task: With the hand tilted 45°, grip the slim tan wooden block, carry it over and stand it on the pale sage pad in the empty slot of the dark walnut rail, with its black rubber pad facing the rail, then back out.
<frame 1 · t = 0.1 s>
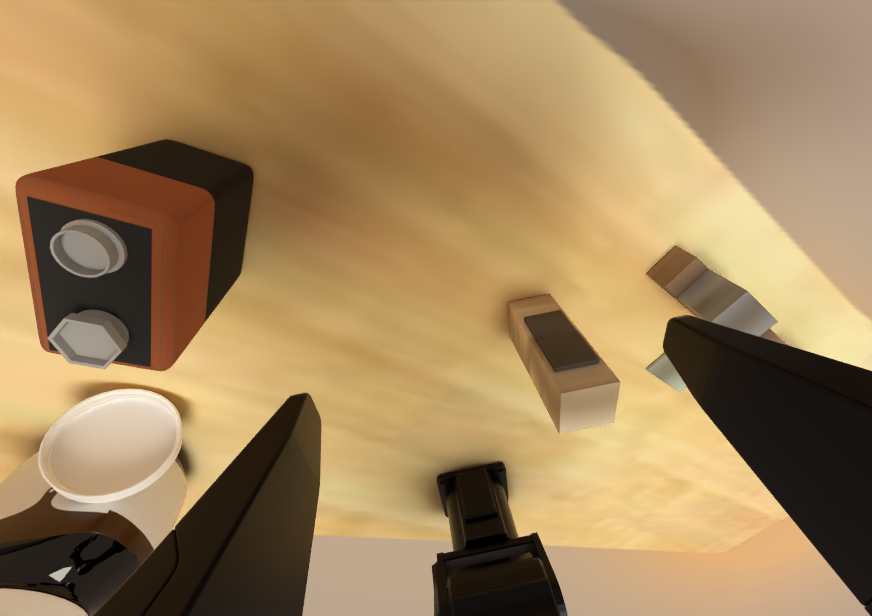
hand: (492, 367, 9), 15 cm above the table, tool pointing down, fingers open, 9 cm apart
spread jar: (130, 436, 28), on the table
battery: (208, 212, 21), on the table
tan wooden block: (529, 315, 27), on the table
rail: (731, 323, 29), on the table
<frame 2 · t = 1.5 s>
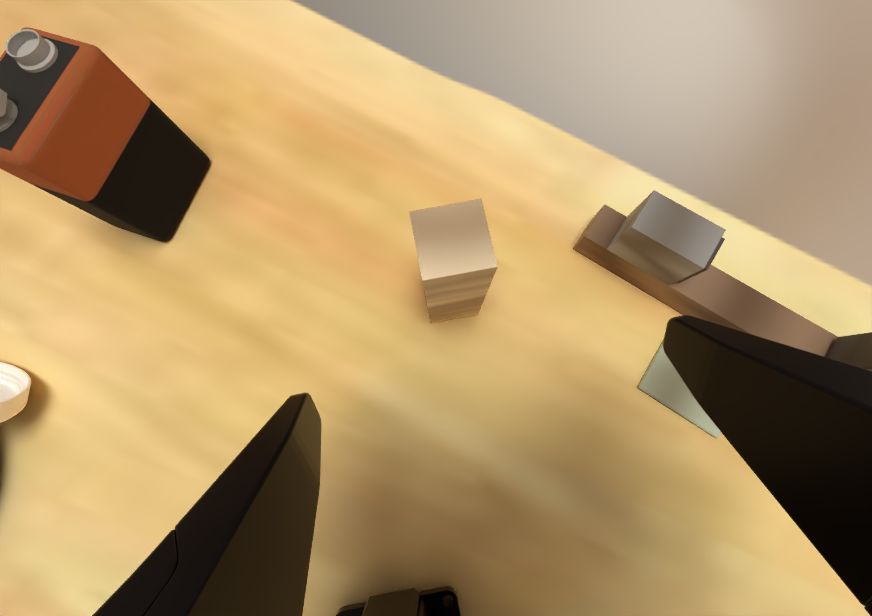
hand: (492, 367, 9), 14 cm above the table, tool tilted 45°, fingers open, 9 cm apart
battery: (168, 194, 26), on the table
tan wooden block: (449, 296, 24), on the table
rail: (725, 318, 23), on the table
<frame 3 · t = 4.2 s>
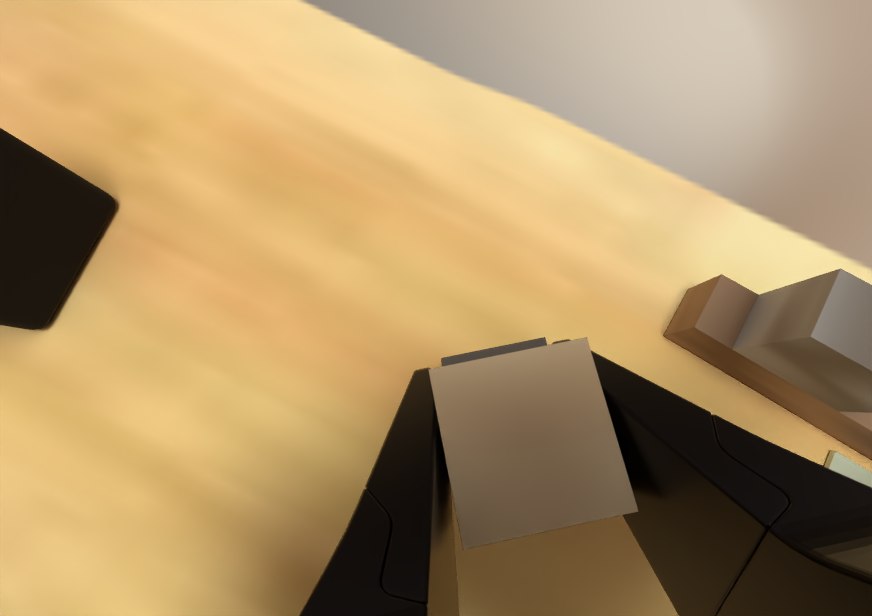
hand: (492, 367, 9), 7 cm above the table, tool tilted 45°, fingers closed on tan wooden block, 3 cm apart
battery: (52, 253, 17), on the table
tan wooden block: (479, 413, 15), on the table, touching gripper
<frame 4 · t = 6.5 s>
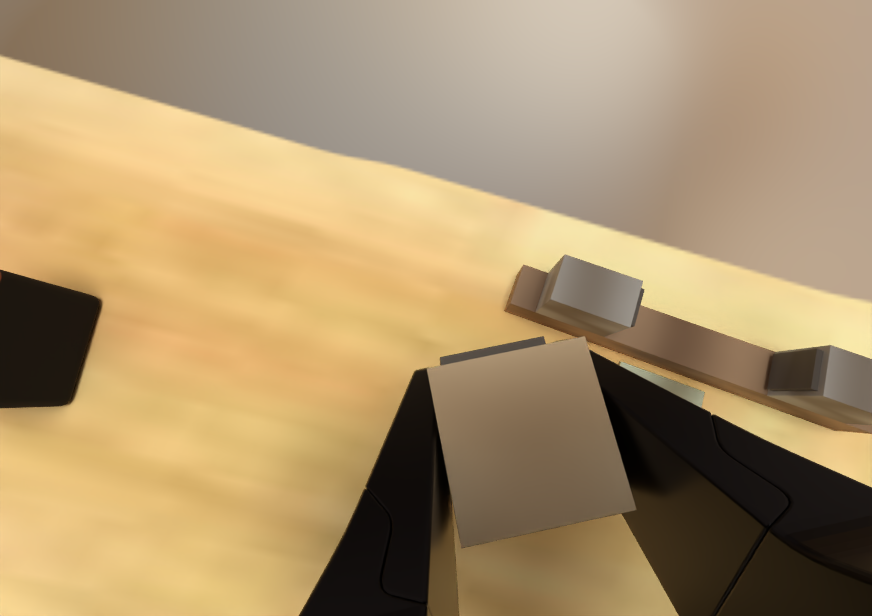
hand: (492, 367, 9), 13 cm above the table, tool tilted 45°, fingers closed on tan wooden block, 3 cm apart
battery: (60, 348, 23), on the table
tan wooden block: (478, 412, 15), point 7 cm above the table, touching gripper
rail: (667, 348, 23), on the table
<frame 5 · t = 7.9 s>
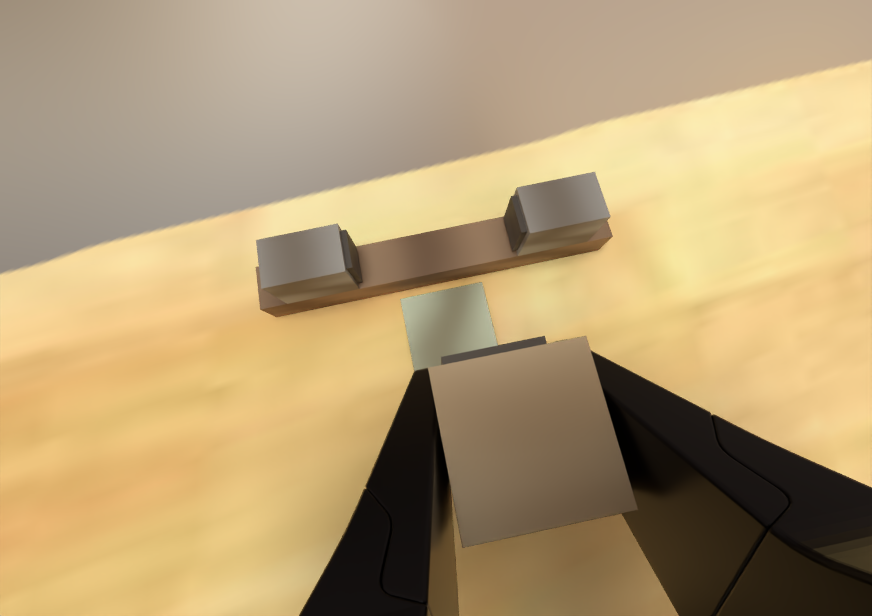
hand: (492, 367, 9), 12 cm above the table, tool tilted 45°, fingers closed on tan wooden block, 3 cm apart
tan wooden block: (478, 412, 15), point 6 cm above the table, touching gripper
rail: (435, 263, 23), on the table
when the fingers open (8 cm above the table, at t = 9.2 s): tan wooden block stays where it is, resting on rail.
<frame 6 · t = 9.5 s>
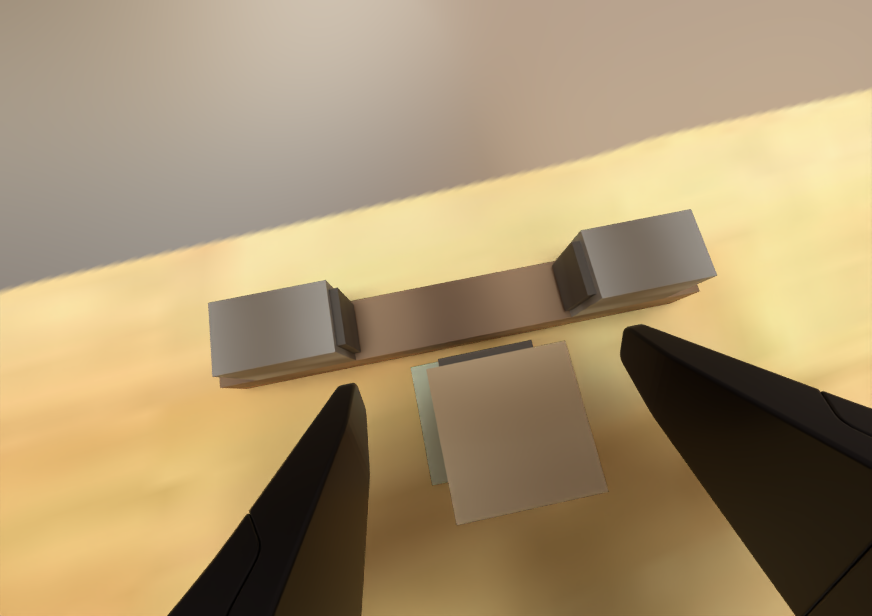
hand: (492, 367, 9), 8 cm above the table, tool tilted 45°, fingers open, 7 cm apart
tan wooden block: (474, 410, 16), resting on rail
rail: (456, 319, 17), on the table
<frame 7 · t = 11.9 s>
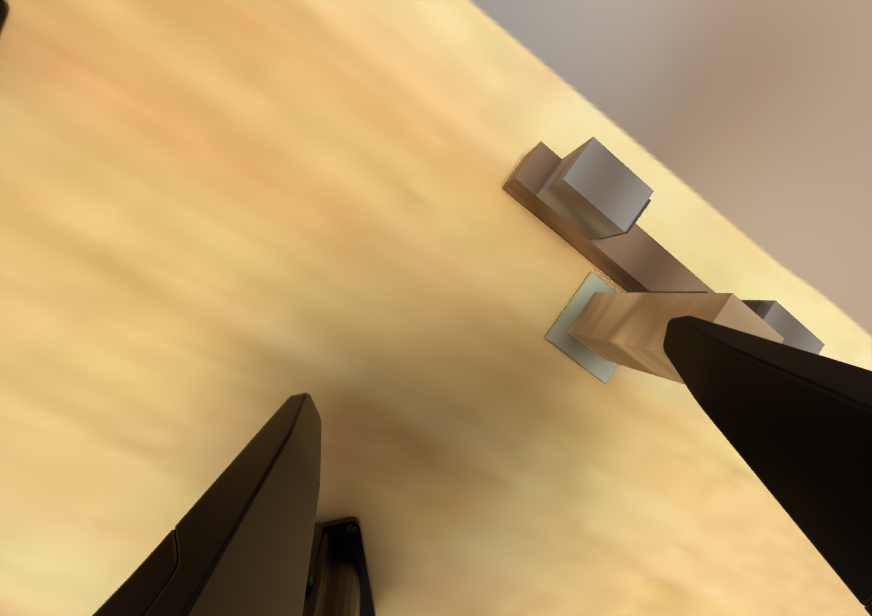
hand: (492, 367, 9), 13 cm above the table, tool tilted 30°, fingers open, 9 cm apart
tan wooden block: (598, 326, 23), resting on rail
rail: (634, 272, 23), on the table
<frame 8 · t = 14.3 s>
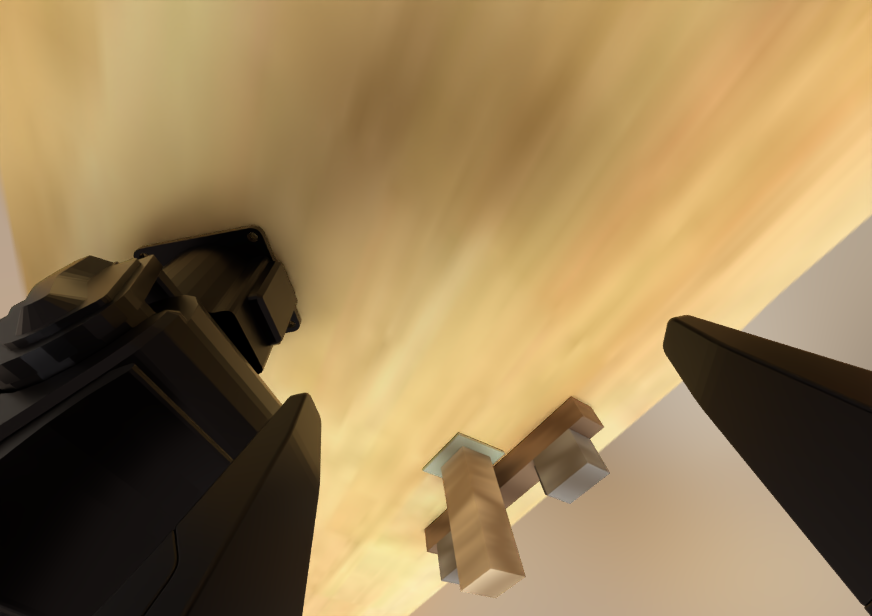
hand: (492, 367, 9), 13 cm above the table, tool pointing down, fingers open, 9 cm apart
tan wooden block: (465, 462, 31), resting on rail
rail: (500, 474, 33), on the table
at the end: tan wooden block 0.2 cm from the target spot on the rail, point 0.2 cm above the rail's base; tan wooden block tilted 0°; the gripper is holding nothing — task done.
